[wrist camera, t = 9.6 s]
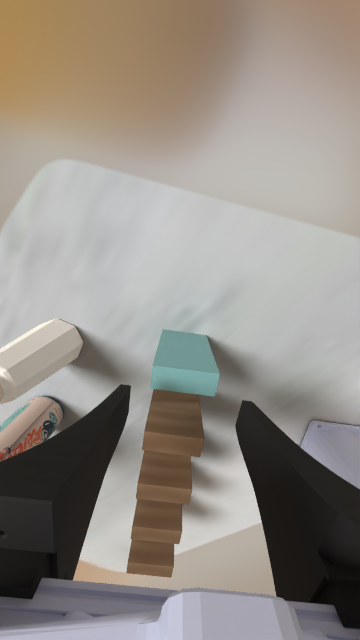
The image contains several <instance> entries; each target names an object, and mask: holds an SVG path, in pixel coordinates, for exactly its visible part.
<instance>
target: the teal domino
mask: <svg viewBox="0 0 360 640" xmlns="http://www.w3.org/2000/svg"><path fill="white" fill-rule="evenodd" d="M219 375H220V373H219V370H218V367H217V364H216V362H215V359H214V356H213V353H212V350H211V347H210V344H209V341H208V339H207V336H206V335H200V334H193V333H185V332H178V331H170V330H163V331H162V334H161V338H160V341H159V345H158V349H157V352H156V356H155V359H154V363H153V368H152V377H151V385H150V389H158V390H166V391H174V392H182V393H190V394H198V395H206V396H214V397H215V393H216V389H217V384H218V380H219Z"/></svg>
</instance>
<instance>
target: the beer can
mask: <svg viewBox="0 0 360 640" xmlns="http://www.w3.org/2000/svg"><path fill="white" fill-rule="evenodd" d="M62 418H63V412H62V409H61V407H60V406H59V404H58V403H56V402H55V401H54V400H52V399H50V398H48V397H43V396H37V397H33V398H31V399H29V400H28V401H27V402H26V403H25V404H24V405H23V406H22V407H21V408H19V409H18V410H17V411H16V412H15V413H14V414H13V415H12V416H11V417H9V418H8V419H7V420H6V421H5V422H4V423H3V424H2V425H1V426H0V462H1V461H3V460H5V459H8V458H10V457H12V456H15V455H17V454H19V453H22V452H24V451H26V450H28V449H30V448H32V447H34V446H36V445H38V444H40V443H42V442H44V441H46V440H47V439H48V438H49V437H50V435H51V434H52V433H53V431H54V430H55V429H56V427H57V426H58V425H59V423H60V422H61V420H62Z"/></svg>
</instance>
